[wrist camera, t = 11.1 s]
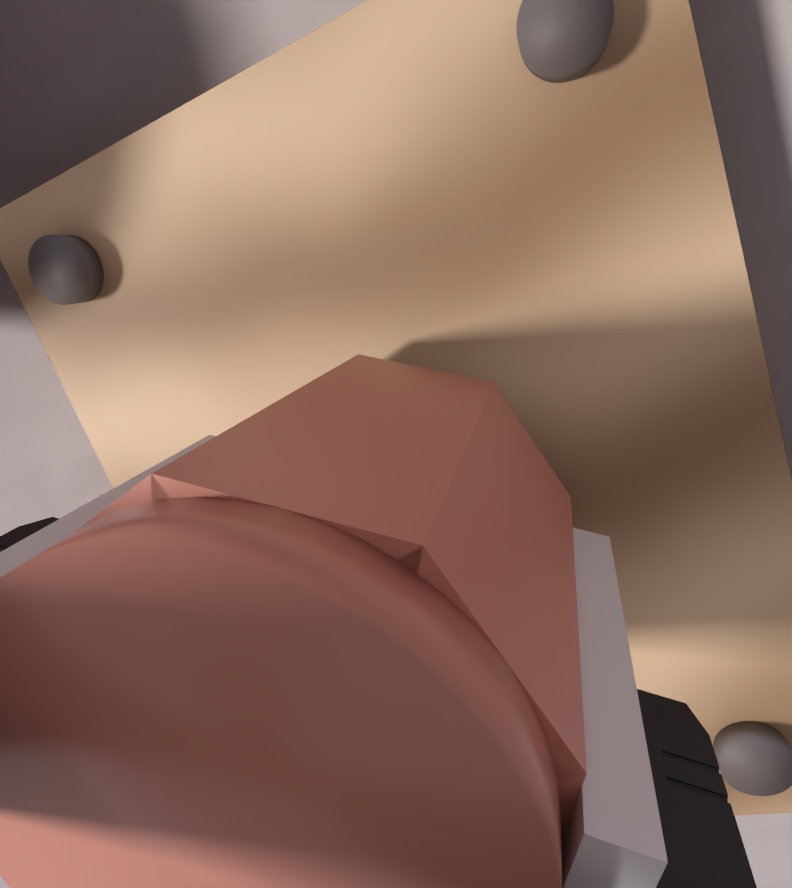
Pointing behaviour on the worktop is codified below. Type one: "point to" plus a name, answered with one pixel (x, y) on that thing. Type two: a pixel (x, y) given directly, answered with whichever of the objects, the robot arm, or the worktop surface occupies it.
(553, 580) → the cap
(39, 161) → the worktop surface
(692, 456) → the stud plate
